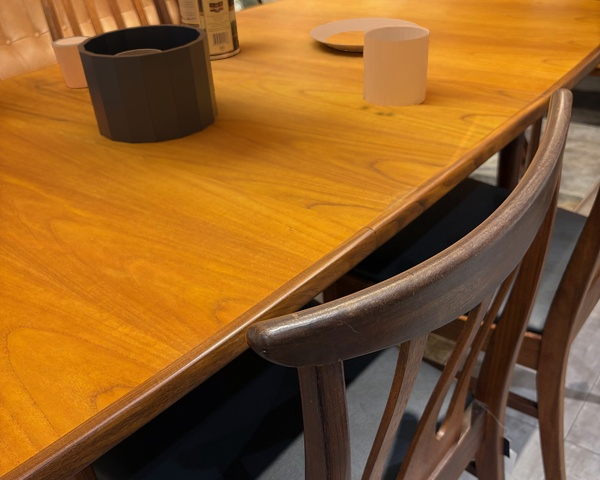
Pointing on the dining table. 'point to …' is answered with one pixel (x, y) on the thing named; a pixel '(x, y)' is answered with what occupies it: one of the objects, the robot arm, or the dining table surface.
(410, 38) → the mug
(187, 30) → the pot
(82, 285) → the dining table surface
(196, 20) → the coffee can
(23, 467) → the dining table surface
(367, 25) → the plate
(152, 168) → the dining table surface
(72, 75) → the shot glass
